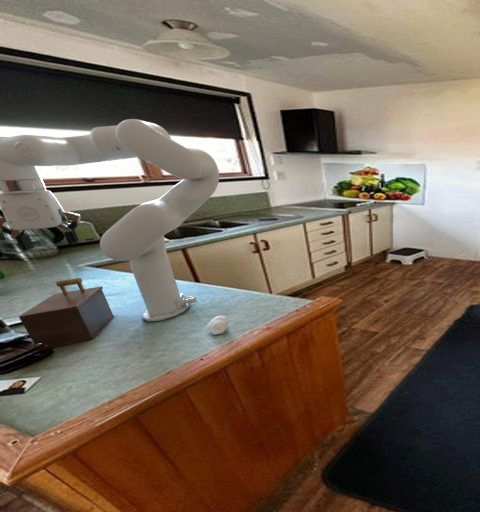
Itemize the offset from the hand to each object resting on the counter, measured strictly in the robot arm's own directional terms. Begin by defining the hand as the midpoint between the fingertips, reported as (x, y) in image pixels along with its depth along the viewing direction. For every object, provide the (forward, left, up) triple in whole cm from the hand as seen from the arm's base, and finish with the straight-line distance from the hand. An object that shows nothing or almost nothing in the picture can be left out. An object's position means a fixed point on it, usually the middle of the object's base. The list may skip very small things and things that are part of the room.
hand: (52, 246), depth 79 cm
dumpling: (-40, +24, -26) cm, 54 cm away
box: (0, +5, -26) cm, 27 cm away
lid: (0, +5, -16) cm, 17 cm away
